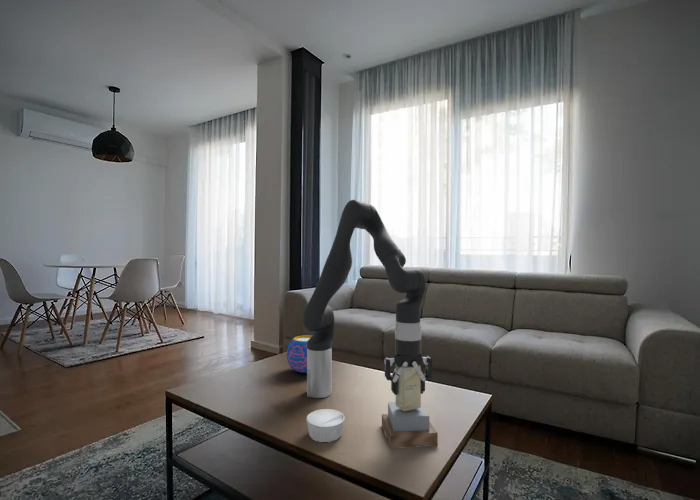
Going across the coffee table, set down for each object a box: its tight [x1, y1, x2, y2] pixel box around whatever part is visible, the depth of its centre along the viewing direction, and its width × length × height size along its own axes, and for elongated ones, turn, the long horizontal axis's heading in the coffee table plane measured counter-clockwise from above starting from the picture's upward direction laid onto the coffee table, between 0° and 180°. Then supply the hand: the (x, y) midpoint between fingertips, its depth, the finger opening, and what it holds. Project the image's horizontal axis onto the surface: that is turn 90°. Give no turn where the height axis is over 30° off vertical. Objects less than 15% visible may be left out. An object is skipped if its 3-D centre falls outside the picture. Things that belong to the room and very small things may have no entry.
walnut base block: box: [381, 413, 439, 449], centre depth 106 cm, size 13×13×4 cm
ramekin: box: [306, 408, 346, 443], centre depth 106 cm, size 11×11×5 cm
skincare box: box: [395, 364, 422, 411], centre depth 106 cm, size 6×4×12 cm
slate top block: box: [387, 401, 430, 432], centre depth 106 cm, size 10×10×4 cm
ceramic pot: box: [286, 334, 313, 374], centre depth 162 cm, size 18×18×15 cm
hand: (408, 393), depth 106 cm, fingers closed on skincare box, 7 cm apart
